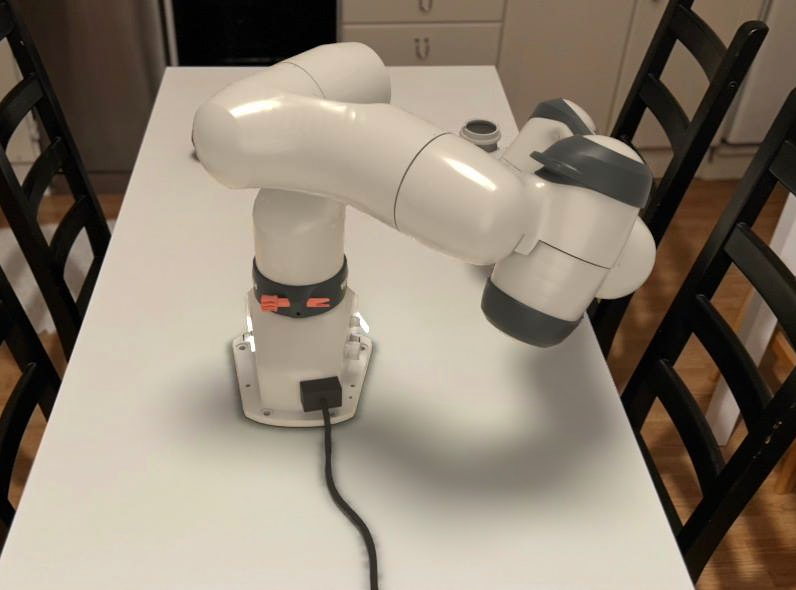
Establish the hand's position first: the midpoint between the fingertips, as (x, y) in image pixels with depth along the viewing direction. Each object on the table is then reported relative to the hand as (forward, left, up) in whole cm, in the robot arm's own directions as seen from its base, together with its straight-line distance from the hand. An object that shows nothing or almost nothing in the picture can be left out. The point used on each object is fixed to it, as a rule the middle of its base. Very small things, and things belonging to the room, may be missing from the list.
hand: (471, 148), depth 150 cm
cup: (-2, -1, -7) cm, 8 cm away
